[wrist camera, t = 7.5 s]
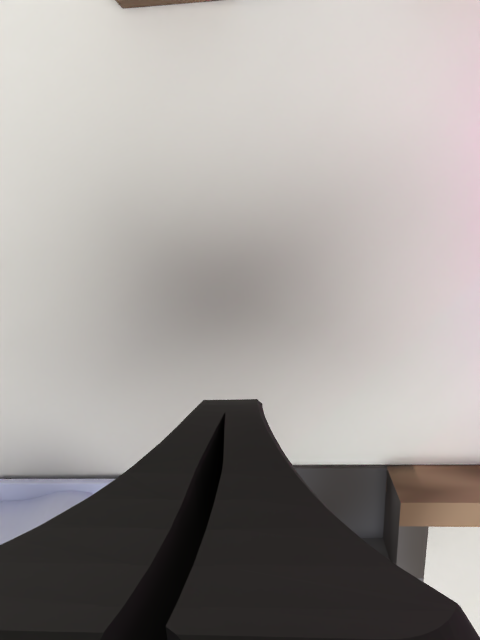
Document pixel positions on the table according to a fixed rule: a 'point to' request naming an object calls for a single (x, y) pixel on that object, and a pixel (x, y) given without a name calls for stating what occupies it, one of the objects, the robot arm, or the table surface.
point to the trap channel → (390, 486)
